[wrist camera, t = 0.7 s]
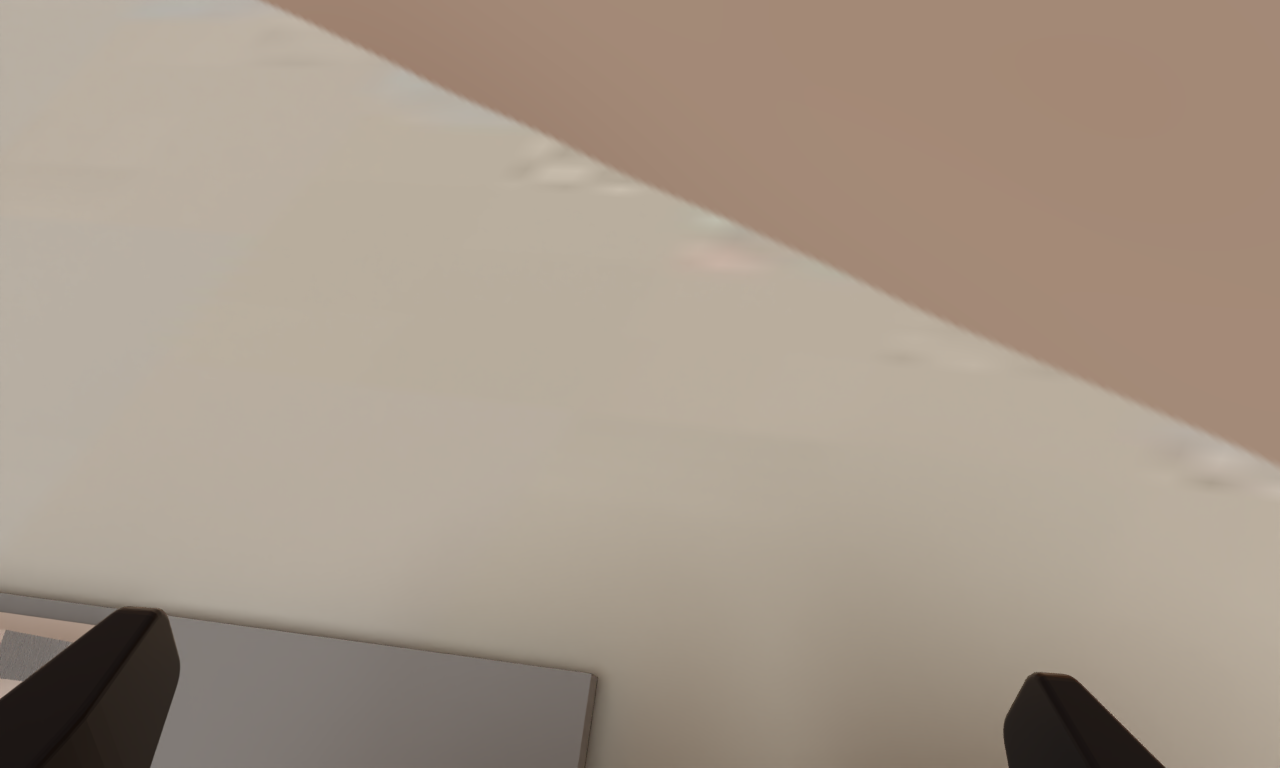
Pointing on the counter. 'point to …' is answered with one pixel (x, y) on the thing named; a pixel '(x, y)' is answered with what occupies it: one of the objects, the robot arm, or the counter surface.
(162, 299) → the counter surface
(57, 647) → the end holder
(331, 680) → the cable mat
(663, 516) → the counter surface
